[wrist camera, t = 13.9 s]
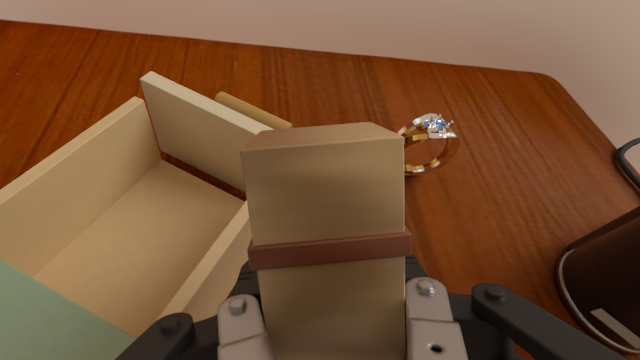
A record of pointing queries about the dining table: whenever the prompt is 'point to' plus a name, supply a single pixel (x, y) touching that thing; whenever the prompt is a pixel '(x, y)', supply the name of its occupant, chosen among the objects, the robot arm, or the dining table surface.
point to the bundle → (329, 240)
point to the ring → (434, 130)
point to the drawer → (139, 208)
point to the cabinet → (51, 324)
